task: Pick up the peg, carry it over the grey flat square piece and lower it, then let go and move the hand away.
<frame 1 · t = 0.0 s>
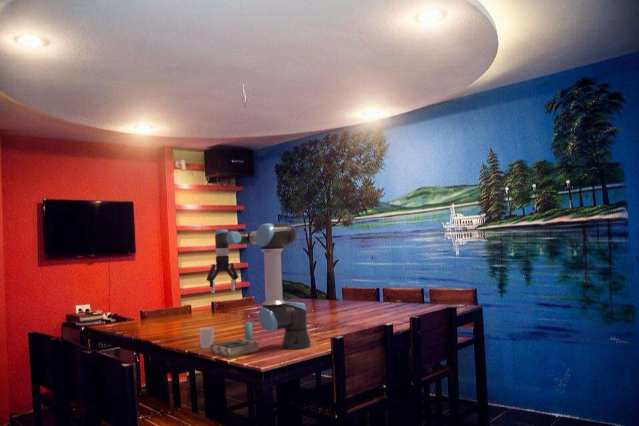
hand: (223, 291, 275), 28 cm above the table, fingers open, 13 cm apart
white cup: (206, 347, 255), on the table
peg: (249, 344, 257), on the table
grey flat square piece: (234, 351, 240), on the table
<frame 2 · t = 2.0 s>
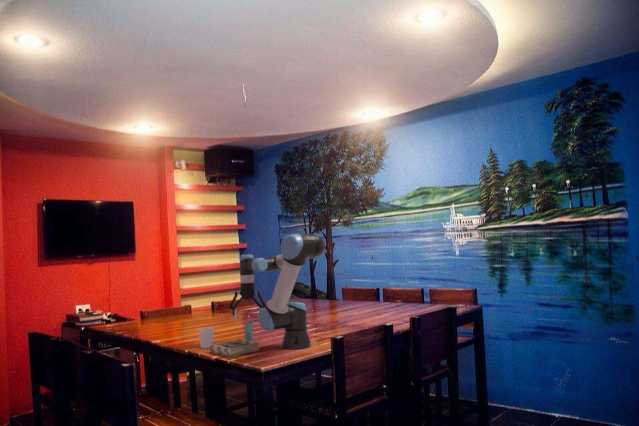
hand: (248, 321, 258), 13 cm above the table, fingers open, 13 cm apart
nothing on the table moved.
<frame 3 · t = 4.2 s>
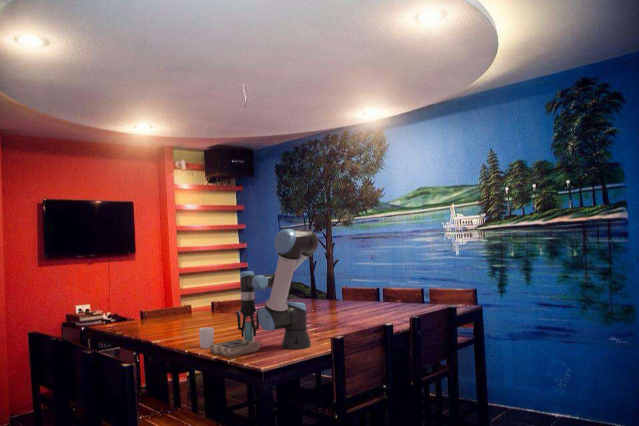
hand: (249, 342, 257), 1 cm above the table, fingers closed on peg, 4 cm apart
peg: (249, 344, 257), on the table, touching gripper
everything else where it was.
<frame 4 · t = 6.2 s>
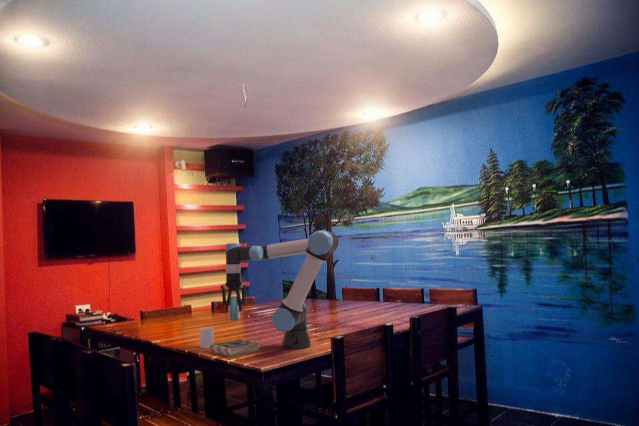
hand: (234, 317, 242), 17 cm above the table, fingers closed on peg, 4 cm apart
peg: (234, 320, 242), point 16 cm above the table, touching gripper
everything else where it was.
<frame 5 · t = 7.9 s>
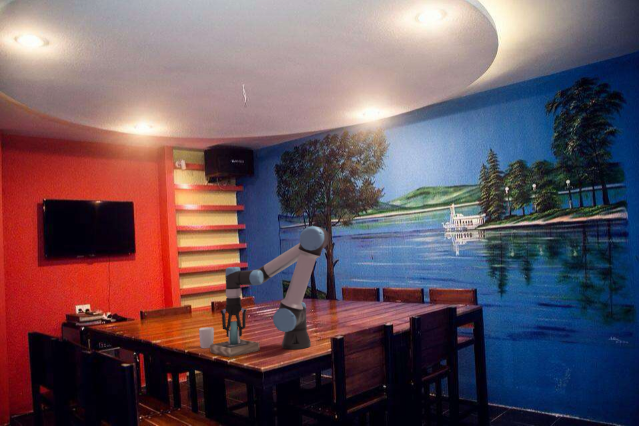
hand: (234, 342, 240), 4 cm above the table, fingers closed on peg, 4 cm apart
peg: (234, 345, 240), point 3 cm above the table, touching gripper
everything else where it was.
when the fingers open (4 cm above the table, at t = 8.4 s): peg drops 2 cm, resting on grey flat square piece.
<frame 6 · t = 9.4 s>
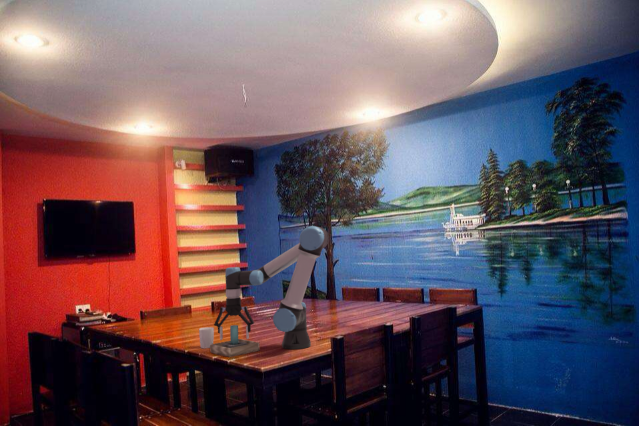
hand: (234, 339, 240), 6 cm above the table, fingers open, 13 cm apart
peg: (234, 349, 240), point 1 cm above the table, touching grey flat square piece
everything else where it was.
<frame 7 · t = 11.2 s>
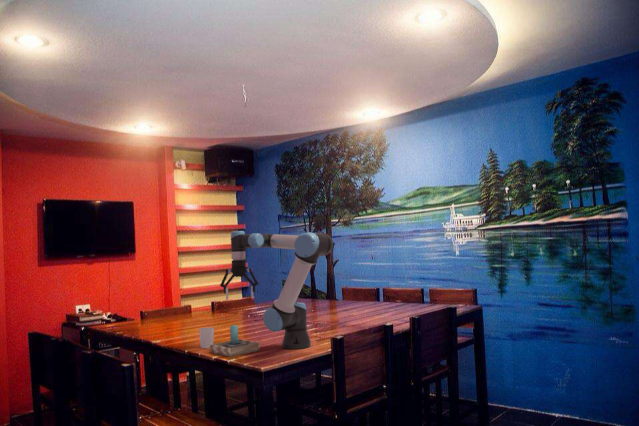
hand: (239, 299, 252), 25 cm above the table, fingers open, 13 cm apart
nothing on the table moved.
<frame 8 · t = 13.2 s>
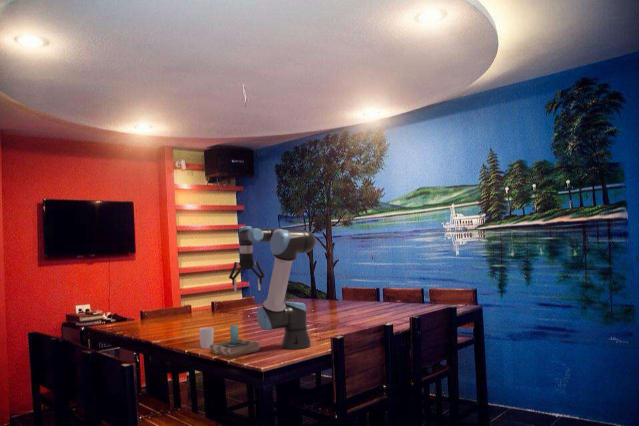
hand: (247, 290, 266), 29 cm above the table, fingers open, 13 cm apart
nothing on the table moved.
at the end: peg 0.1 cm off-centre on the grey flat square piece, point 1.0 cm above the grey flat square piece's base; peg tilted 0°; the gripper is holding nothing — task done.
